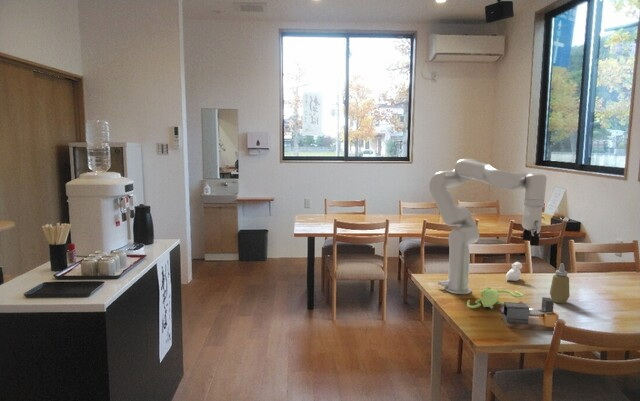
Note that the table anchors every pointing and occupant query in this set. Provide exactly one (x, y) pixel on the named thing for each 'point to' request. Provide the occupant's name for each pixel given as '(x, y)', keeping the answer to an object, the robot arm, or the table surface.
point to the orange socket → (549, 319)
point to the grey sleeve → (516, 313)
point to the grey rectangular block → (543, 308)
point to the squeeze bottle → (560, 286)
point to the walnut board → (529, 325)
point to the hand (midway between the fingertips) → (530, 242)
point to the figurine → (492, 298)
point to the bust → (514, 272)
